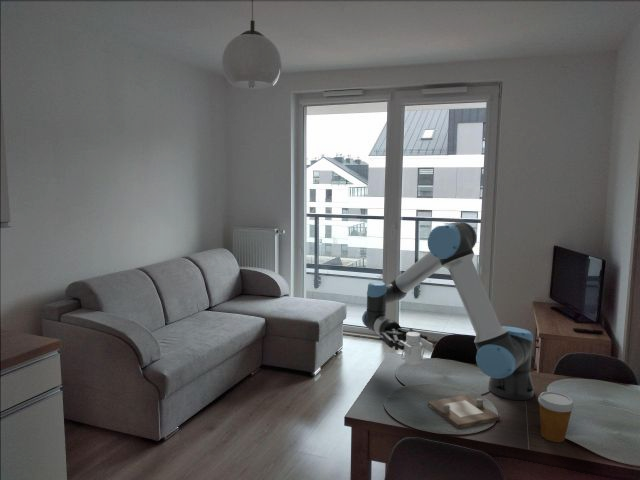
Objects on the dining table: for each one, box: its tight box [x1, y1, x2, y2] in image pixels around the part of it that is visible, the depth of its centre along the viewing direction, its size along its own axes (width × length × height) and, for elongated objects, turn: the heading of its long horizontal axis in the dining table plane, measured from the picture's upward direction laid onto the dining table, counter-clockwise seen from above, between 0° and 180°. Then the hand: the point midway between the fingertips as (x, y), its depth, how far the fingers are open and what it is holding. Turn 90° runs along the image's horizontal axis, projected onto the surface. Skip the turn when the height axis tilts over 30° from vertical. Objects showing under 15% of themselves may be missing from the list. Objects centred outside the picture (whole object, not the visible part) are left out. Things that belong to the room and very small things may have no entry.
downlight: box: [401, 331, 425, 366], centre depth 165 cm, size 8×7×10 cm
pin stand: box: [427, 394, 501, 429], centre depth 155 cm, size 16×16×3 cm
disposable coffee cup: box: [537, 391, 575, 443], centre depth 140 cm, size 10×10×12 cm
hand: (421, 349), depth 161 cm, fingers closed on downlight, 8 cm apart
